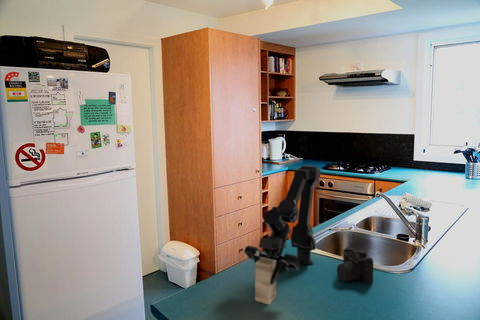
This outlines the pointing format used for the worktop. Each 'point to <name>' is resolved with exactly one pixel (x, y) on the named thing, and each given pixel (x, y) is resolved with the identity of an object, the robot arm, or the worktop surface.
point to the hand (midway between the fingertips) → (263, 281)
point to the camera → (356, 266)
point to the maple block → (265, 280)
